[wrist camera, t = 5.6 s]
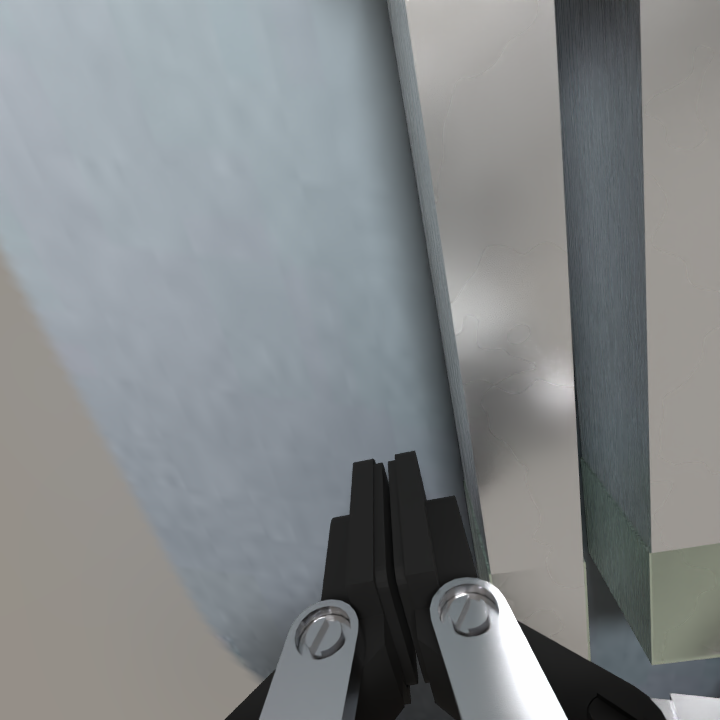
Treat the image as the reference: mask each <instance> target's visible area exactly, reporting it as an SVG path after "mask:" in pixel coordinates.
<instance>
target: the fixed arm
mask: <svg viewBox="0 0 720 720" xmlns="http://www.w3.org/2000/svg"><path fill="white" fill-rule="evenodd" d="M554 6H555V25H556V45H557V64H558V83H559V102H560V122H561V141H562V160H563V179H564V199H565V218H566V237H567V256H568V276H569V295H570V314H571V330H572V342H573V354H574V366H575V378H576V390H577V402H578V413H579V425H580V437H581V449H582V458H580V459H581V470H582V482H583V493H584V505H585V517H586V528H587V540H588V552H589V554H590V555H591V557H592V559H593V561H594V563H595V564H596V566H597V568H598V570H599V571H600V573H601V575H602V577H603V579H604V580H605V582H606V584H607V586H608V588H609V589H610V591H611V593H612V595H613V597H614V598H615V600H616V602H617V604H618V605H619V607H620V609H621V611H622V613H623V614H624V616H625V618H626V620H627V622H628V623H629V625H630V627H631V629H632V631H633V632H634V634H635V636H636V638H637V639H638V641H639V643H640V645H641V647H642V648H643V650H644V652H645V654H646V656H647V657H648V659H649V661H650V663H651V665H657V664H665V663H674V662H682V661H690V660H699V659H707V658H716V657H720V0H554Z"/></svg>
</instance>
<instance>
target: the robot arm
mask: <svg viewBox="0 0 720 720" xmlns="http://www.w3.org/2000/svg"><path fill="white" fill-rule="evenodd" d="M388 472H389V484H388V480H387V476H386V472H385V468H384V465H383V463H378V464H376V463H375V460H374V459H370V460H365V461H360V462H354V463H353V473H352V488H351V502H350V515H346V516H340V517H335V518H333V519H332V520H331V525H330V533H329V541H328V549H327V557H326V565H325V573H324V582H323V590H322V598H321V601H320V602H318V603H315V604H313V605H311V606H309V607H308V608H307V609H305V610H304V611H303V612H301V613H300V615H299V616H298V617H297V618H296V619H295V621H294V622H293V624H292V626H291V628H290V630H289V632H288V635H287V638H286V641H285V644H284V647H283V650H282V653H281V656H280V659H279V662H278V665H277V668H276V669H275V670H274V671H273V672H272V673H271V674H270V675H269V676H268V677H267V678H266V679H265V680H264V681H263V682H262V683H261V684H260V685H259V686H258V687H257V688H256V689H255V690H254V691H253V692H252V693H251V694H250V695H249V696H248V697H247V698H246V699H245V700H244V701H243V702H242V703H241V704H240V705H239V706H238V707H237V708H236V709H235V710H234V711H233V712H232V713H231V714H230V715H229V716H228V717H227V718H226V719H225V720H395V719H396V717H397V716H398V715H399V713H400V712H401V711H402V709H403V708H404V704H411V698H410V685H414V684H418V673H417V663H416V653H417V657H418V660H419V664H420V667H421V671H422V674H423V678H424V681H425V683H429V682H430V685H431V689H432V693H433V696H434V700H435V703H436V704H437V705H438V706H440V707H441V708H442V709H443V710H445V711H446V712H447V713H448V714H449V715H451V716H452V717H453V718H454V719H455V720H720V698H711V697H701V696H691V695H681V694H671V693H670V700H663V699H654V698H650V697H649V696H647V695H646V694H644V693H643V692H642V691H640V690H639V689H638V688H636V687H635V686H633V685H631V684H630V683H628V682H626V681H624V680H623V679H621V678H619V677H617V676H615V675H614V674H612V673H610V672H608V671H607V670H605V669H603V668H601V667H599V666H598V665H596V664H594V663H592V662H591V661H589V660H587V659H585V658H583V657H582V656H580V655H578V654H576V653H575V652H573V651H571V650H569V649H568V648H566V647H564V646H562V645H560V644H559V643H557V642H555V641H553V640H552V639H550V638H548V637H546V636H544V635H543V634H541V633H539V632H537V631H536V630H534V629H532V628H530V627H528V626H527V625H525V624H523V623H521V622H520V621H518V620H516V619H515V617H514V615H513V613H512V611H511V609H510V607H509V605H508V603H507V601H506V600H505V598H504V596H503V595H502V594H501V592H500V591H499V590H498V589H497V588H496V587H495V586H493V585H492V584H491V583H489V582H487V581H484V580H481V579H479V578H477V574H476V571H475V567H474V563H473V560H472V556H471V552H470V549H469V545H468V541H467V538H466V534H465V530H464V527H463V523H462V519H461V516H460V512H459V508H458V505H457V501H456V497H455V496H449V497H444V498H438V499H433V500H428V501H427V499H426V495H425V491H424V486H423V482H422V478H421V474H420V469H419V465H418V461H417V457H416V453H415V451H411V452H406V453H400V454H395V460H394V461H389V462H388ZM415 650H416V652H415Z"/></svg>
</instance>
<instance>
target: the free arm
mask: <svg viewBox="0 0 720 720" xmlns="http://www.w3.org/2000/svg"><path fill="white" fill-rule="evenodd" d="M387 5H388V11H389V17H390V23H391V29H392V35H393V41H394V48H395V54H396V60H397V66H398V72H399V78H400V85H401V91H402V97H403V103H404V109H405V115H406V122H407V128H408V134H409V140H410V146H411V152H412V159H413V165H414V171H415V177H416V183H417V189H418V196H419V202H420V208H421V214H422V220H423V226H424V233H425V239H426V245H427V251H428V257H429V263H430V270H431V276H432V282H433V288H434V294H435V300H436V307H437V313H438V319H439V325H440V331H441V337H442V344H443V350H444V356H445V362H446V368H447V374H448V381H449V387H450V393H451V399H452V405H453V411H454V418H455V424H456V430H457V436H458V442H459V448H460V455H461V461H462V467H463V473H464V479H465V480H464V481H463V484H464V490H465V496H466V502H467V508H468V514H469V520H470V526H471V533H472V539H473V545H474V551H475V557H476V563H477V569H478V574H479V578H480V579H481V580H484V581H487V582H489V583H491V584H492V585H493V586H495V587H496V588H497V589H498V590H499V591H500V592H501V594H502V595H503V596H504V598H505V600H506V601H507V603H508V605H509V607H510V609H511V611H512V613H513V615H514V617H515V619H516V620H518V621H520V622H521V623H523V624H525V625H527V626H528V627H530V628H532V629H534V630H536V631H537V632H539V633H541V634H543V635H544V636H546V637H548V638H550V639H552V640H553V641H555V642H557V643H559V644H560V645H562V646H564V647H566V648H568V649H569V650H571V651H573V652H575V653H576V654H578V655H580V656H582V657H583V658H585V659H587V660H589V661H591V658H590V638H589V618H588V598H587V577H586V562H585V560H584V558H583V545H582V526H581V507H580V488H579V468H578V449H577V430H576V411H575V391H574V372H573V353H572V334H571V314H570V295H569V276H568V256H567V237H566V218H565V199H564V179H563V160H562V141H561V122H560V102H559V83H558V64H557V45H556V25H555V6H554V0H387Z"/></svg>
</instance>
